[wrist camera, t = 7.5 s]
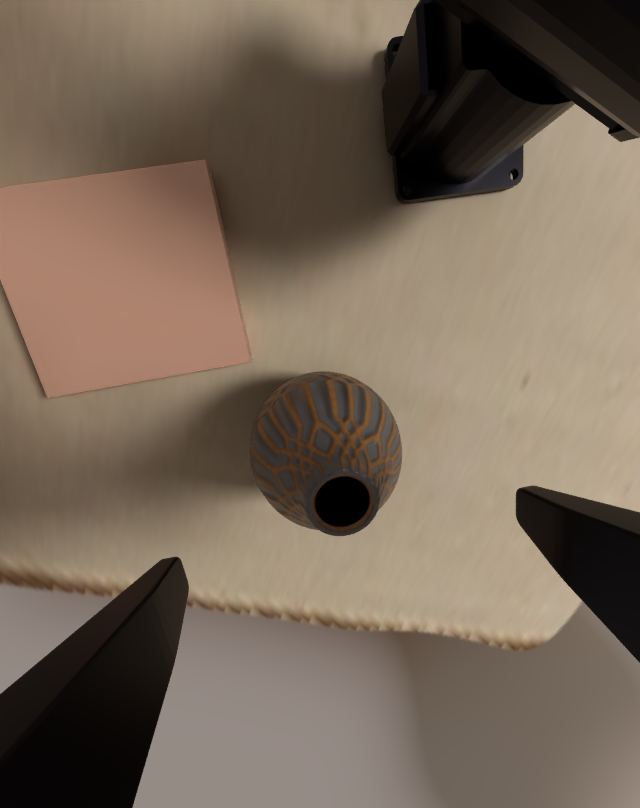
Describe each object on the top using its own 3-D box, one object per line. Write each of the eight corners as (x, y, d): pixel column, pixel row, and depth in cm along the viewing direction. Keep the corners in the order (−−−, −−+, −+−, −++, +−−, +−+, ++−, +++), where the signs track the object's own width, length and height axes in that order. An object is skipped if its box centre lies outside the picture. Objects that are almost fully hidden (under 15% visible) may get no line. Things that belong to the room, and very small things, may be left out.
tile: (204, 159, 14) (250, 362, 16) (212, 175, 15) (253, 359, 17) (-35, 192, 13) (47, 398, 15) (-2, 206, 15) (68, 391, 17)
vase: (398, 419, 19) (489, 493, 10) (319, 498, 19) (343, 628, 11) (315, 338, 17) (342, 347, 9) (232, 427, 18) (182, 516, 9)
